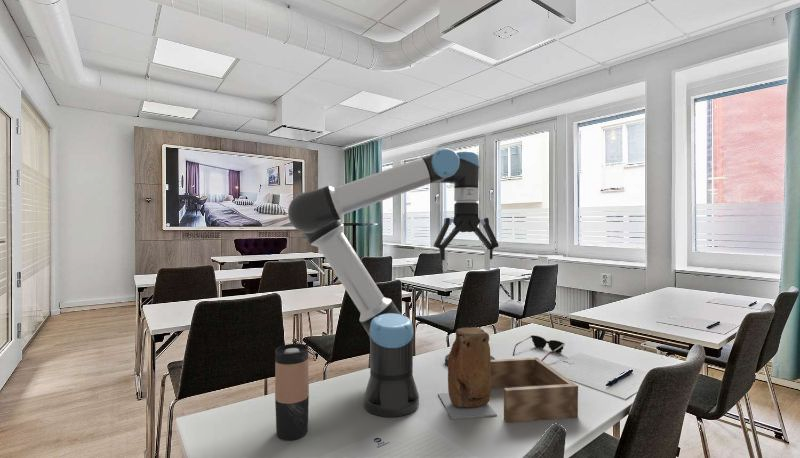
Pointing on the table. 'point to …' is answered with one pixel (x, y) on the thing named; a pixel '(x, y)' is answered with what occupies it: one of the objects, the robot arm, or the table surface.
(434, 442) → the table surface
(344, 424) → the table surface
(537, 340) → the sunglasses
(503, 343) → the table surface
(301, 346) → the travel mug
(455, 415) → the mat
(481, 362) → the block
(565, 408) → the open box
